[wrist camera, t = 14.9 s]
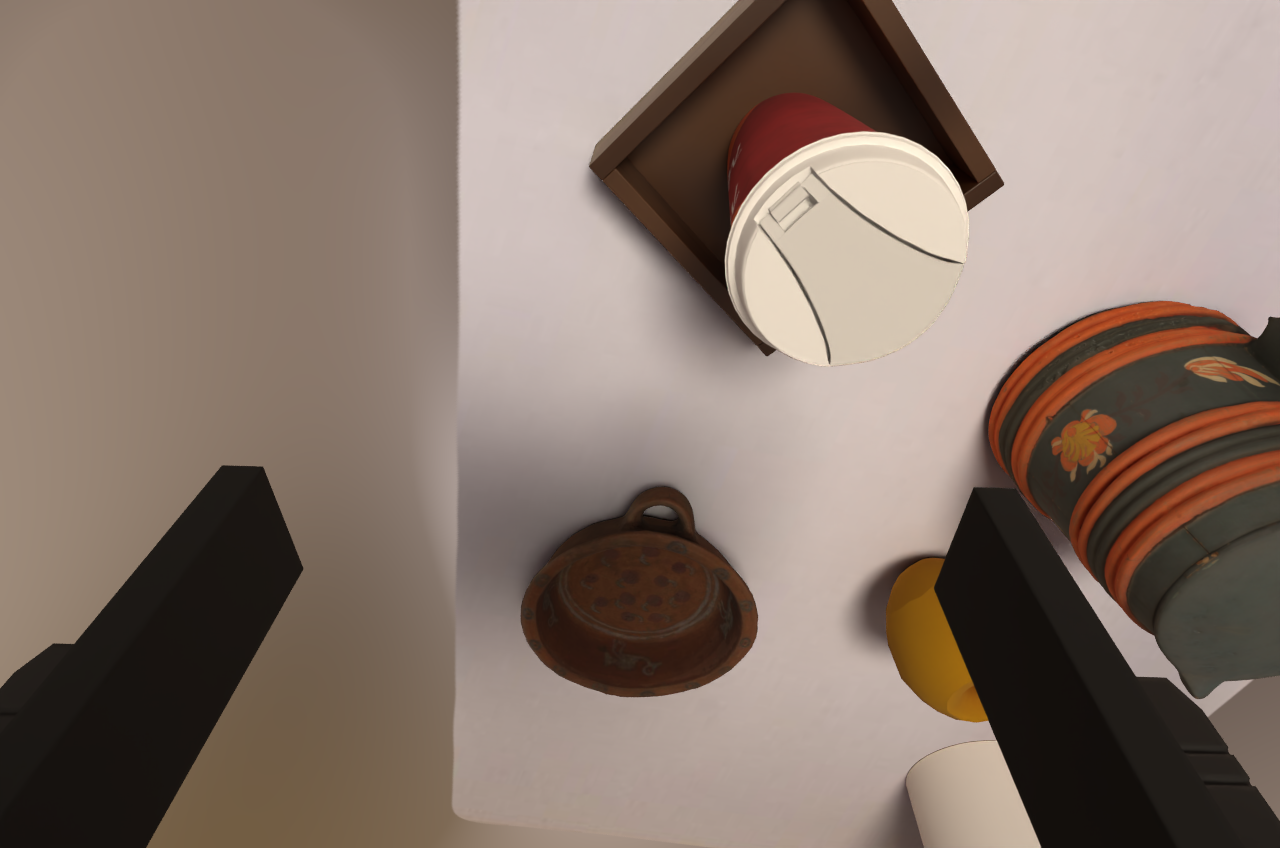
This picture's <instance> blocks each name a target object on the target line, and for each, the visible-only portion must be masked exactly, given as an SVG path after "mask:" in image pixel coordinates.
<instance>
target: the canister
mask: <svg viewBox="0 0 1280 848" xmlns="http://www.w3.org/2000/svg"><path fill="white" fill-rule="evenodd" d="M906 787H907V790H908V794H909V797H910V801H911V804H912V808H913V811H914V815H915V818H916V822H917V825H918V828H919V832H920V835H921V839H922V842H923V846H924V848H1041V846H1040V843H1039V841H1038V839H1037V836H1036V834H1035V831H1034V829H1033V826H1032V824H1031V822H1030V819H1029V817H1028V814H1027V812H1026V810H1025V807H1024V805H1023V802H1022V800H1021V798H1020V795H1019V793H1018V790H1017V788H1016V786H1015V783H1014V781H1013V778H1012V776H1011V774H1010V771H1009V769H1008V766H1007V764H1006V761H1005V759H1004V757H1003V754H1002V752H1001V749H1000V747H999V745H998V742H997V741H976V742H968V743H962V744H958V745H954V746H950V747H947V748H944V749H941V750H939V751H936V752H934V753H932V754H930V755H928V756H926V757H925V758H923V759H921V760H920V761H919V762H918V763H916V764H915V765H914V766H913V767H912V768H911V770H910V771H909V773H908V775H907V777H906Z"/></svg>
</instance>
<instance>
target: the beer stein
mask: <svg viewBox="0 0 1280 848" xmlns="http://www.w3.org/2000/svg"><path fill="white" fill-rule="evenodd" d="M988 434H989V441H990V445H991V448H992V451H993V454H994V456H995V458H996V460H997V462H998V463H999V465H1000V466H1001V467H1002V469H1003V470H1004V471H1005V472H1006V473H1007V474H1008V475H1009V476H1010V477H1011V479H1012V480H1013V481H1014V482H1015V484H1016V485H1017V487H1018V488H1019V490H1020V492H1021V493H1022V494H1023V495H1024V496H1025V497H1026V498H1027V499H1028V500H1029V501H1030V503H1031V504H1032V505H1033V506H1034V507H1035V508H1036V509H1037V510H1038V511H1039V512H1040V513H1041V514H1043V515H1044V516H1046V517H1048V518H1050V519H1052V520H1053V522H1054V523H1055V524H1056V525H1057V526H1058V528H1059V529H1060V530H1061V531H1062V532H1063V533H1064V535H1065V536H1066V537H1067V538H1068V539H1069V540H1070V541H1071V543H1072V546H1073V549H1074V551H1075V553H1076V555H1077V556H1078V558H1079V560H1080V561H1081V563H1082V564H1083V565H1084V567H1085V568H1086V569H1087V570H1088V571H1089V572H1090V574H1091V575H1092V576H1093V578H1094V579H1095V580H1096V581H1098V582H1099V583H1100V584H1101V586H1102V587H1103V588H1104V589H1105V591H1106V592H1107V593H1108V594H1109V595H1110V596H1111V598H1112V599H1113V600H1114V601H1116V602H1117V603H1118V605H1119V606H1120V607H1121V608H1122V609H1123V610H1124V612H1125V613H1126V614H1127V615H1128V617H1129V618H1130V619H1131V620H1132V621H1133V622H1135V623H1136V624H1137V625H1138V626H1139V627H1141V628H1142V629H1143V630H1145V631H1147V632H1148V633H1150V634H1152V635H1154V636H1155V639H1156V642H1157V644H1158V646H1159V648H1160V650H1161V651H1162V652H1163V654H1164V655H1165V656H1166V658H1167V659H1168V660H1169V661H1170V662H1171V663H1172V664H1173V665H1174V666H1175V668H1176V669H1177V670H1178V672H1179V676H1180V679H1181V681H1182V683H1183V684H1184V686H1185V687H1186V689H1187V690H1188V692H1189V693H1190V694H1191V695H1192V696H1193V697H1194V698H1196V699H1202V698H1205V697H1206V696H1208V695H1209V694H1210V693H1211V692H1212V691H1213V690H1214V689H1215V688H1216V687H1217V686H1218V685H1219V684H1221V683H1222V682H1224V681H1238V680H1250V679H1259V678H1266V677H1272V676H1279V675H1280V318H1275V317H1269V318H1268V325H1267V327H1266V328H1265V330H1264V332H1263V333H1262V334H1261V335H1260V336H1259V337H1258V338H1255V337H1252V336H1250V335H1249V334H1248V333H1247V332H1246V331H1245V330H1244V329H1242V328H1241V327H1240V326H1238V325H1237V324H1236V323H1235V322H1234V321H1233V320H1232V319H1230V318H1229V317H1227V316H1226V315H1224V314H1223V313H1220V312H1219V311H1217V310H1210V309H1207V308H1204V307H1194V306H1191V305H1189V304H1184V303H1179V302H1172V301H1155V302H1145V303H1138V304H1134V305H1129V306H1125V307H1121V308H1114V309H1109V310H1105V311H1102V312H1099V313H1096V314H1093V315H1090V316H1089V317H1086V318H1084V319H1082V320H1080V321H1078V322H1076V323H1074V324H1073V325H1071V326H1069V327H1068V328H1066V329H1064V330H1063V331H1061V332H1060V333H1058V334H1057V335H1056V336H1054V337H1053V338H1051V339H1050V340H1048V341H1047V342H1046V343H1044V344H1043V345H1042V346H1040V347H1039V348H1038V349H1037V350H1035V351H1034V352H1033V353H1032V354H1030V355H1029V356H1028V357H1027V358H1026V359H1025V360H1024V361H1023V362H1022V363H1021V364H1020V365H1019V367H1018V368H1017V369H1016V370H1015V371H1014V372H1013V373H1012V375H1011V376H1010V377H1009V379H1008V380H1007V381H1006V383H1005V384H1004V385H1003V387H1002V389H1001V391H1000V393H999V395H998V397H997V399H996V401H995V403H994V405H993V408H992V411H991V415H990V420H989V430H988Z"/></svg>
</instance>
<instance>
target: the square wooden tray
mask: <svg viewBox="0 0 1280 848" xmlns="http://www.w3.org/2000/svg"><path fill="white" fill-rule="evenodd" d="M784 93H804V94H809V95H812V96H815V97H817V98H820V99H822V100H824V101H826V102H828V103H830V104H832V105H833V106H835V107H837V108H838V109H840V110H842V111H844V112H845V113H847V114H849V115H850V116H852V117H854V118H855V119H857V120H859V121H860V122H862V123H863V124H865V125H867V126H868V127H870V128H871V129H873V130H875V131H876V132H883V133H888V134H892V135H896V136H900V137H904V138H906V139H908V140H911V141H913V142H915V143H917V144H920V145H922V146H923V147H924V148H926V149H927V150H929V151H930V152H932V153H933V154H934V155H936V156H937V157H938V158H939V159H940V160H941V161H942V162H943V163H944V164H945V165H946V166H947V167H948V168H949V170H950V171H951V173H952V174H953V176H954V177H955V179H956V181H957V182H958V184H959V185H960V188H961V191H962V193H963V196H964V199H965V202H966V206H967V212H968V211H969V210H970V209H972V208H973V207H975V206H976V205H977V204H979V203H980V202H981V201H983V200H984V199H986V198H987V197H988V196H990V195H991V194H993V193H994V192H995V191H997V190H998V189H999V188H1001V187H1002V186H1004V182H1003V180H1002V179H1001V177H1000V175H999V174H998V172H997V171H996V169H995V167H994V165H993V164H992V162H991V160H990V159H989V157H988V156H987V154H986V152H985V151H984V149H983V147H982V146H981V144H980V143H979V141H978V139H977V138H976V136H975V134H974V133H973V131H972V130H971V128H970V126H969V125H968V123H967V122H966V120H965V118H964V117H963V115H962V113H961V112H960V110H959V109H958V107H957V105H956V104H955V102H954V100H953V99H952V97H951V96H950V94H949V92H948V91H947V89H946V87H945V86H944V84H943V83H942V81H941V79H940V78H939V76H938V74H937V73H936V71H935V70H934V68H933V66H932V65H931V63H930V61H929V60H928V58H927V57H926V55H925V53H924V52H923V50H922V48H921V47H920V45H919V44H918V42H917V40H916V39H915V37H914V35H913V34H912V32H911V31H910V29H909V27H908V26H907V24H906V22H905V21H904V19H903V18H902V16H901V14H900V13H899V11H898V9H897V8H896V6H895V5H894V3H893V1H892V0H738V1H737V3H736V4H735V5H734V6H733V7H732V8H731V9H730V10H729V11H728V12H727V13H726V14H725V15H724V16H723V17H722V18H721V19H720V20H719V21H718V22H717V23H716V24H715V25H714V26H713V27H712V28H711V29H710V30H709V31H708V32H707V33H706V34H705V35H704V36H703V37H702V38H701V39H700V40H699V41H698V42H697V43H696V44H695V45H694V46H693V47H692V48H691V49H690V50H689V51H688V52H687V53H686V54H685V55H684V56H683V57H682V58H681V59H680V60H679V61H678V62H677V63H676V64H675V65H674V66H673V67H672V68H671V69H670V70H669V71H668V72H667V73H666V74H665V75H664V76H663V77H662V78H661V79H660V80H659V81H658V82H657V83H656V84H655V85H654V86H653V87H652V89H651V90H650V91H649V92H648V93H647V94H646V95H645V96H644V97H643V98H642V99H641V100H640V101H639V102H638V103H637V104H636V105H635V106H634V107H633V108H632V109H631V110H630V111H629V112H628V113H627V114H626V115H625V116H624V117H623V118H622V119H621V120H620V121H619V122H618V123H617V124H616V125H615V126H614V127H613V128H612V129H611V130H610V131H609V132H608V133H607V134H606V135H605V136H604V137H603V138H602V139H601V140H600V141H599V142H598V143H597V144H596V146H595V149H594V152H593V155H592V158H591V162H590V165H589V167H590V169H591V170H592V171H593V172H594V173H595V174H596V175H597V176H598V177H599V178H600V179H601V180H603V182H604V183H605V184H606V185H607V186H608V187H609V189H610V190H611V191H612V192H613V193H614V194H615V195H616V196H617V197H618V198H619V199H620V200H621V201H622V202H623V204H624V205H625V206H626V207H627V208H628V209H629V210H630V211H631V212H632V213H633V214H634V215H635V216H636V217H637V218H638V220H639V221H640V222H641V223H642V224H643V225H644V226H645V227H646V228H647V229H648V230H649V231H650V232H651V233H652V235H653V236H654V237H655V238H656V239H657V240H658V241H659V242H660V243H661V244H662V245H663V246H664V247H665V248H666V249H667V251H668V252H669V253H670V254H671V255H672V256H673V257H674V258H675V259H676V260H677V261H678V262H679V263H680V264H681V266H682V267H683V268H684V269H685V270H686V271H687V272H688V273H689V274H690V275H691V276H692V277H693V278H694V279H695V280H696V282H697V283H698V284H699V285H700V286H701V287H702V288H703V289H704V290H705V291H706V292H707V293H708V294H709V295H710V297H711V298H712V299H713V300H714V301H715V302H716V303H717V304H718V305H719V306H720V307H721V308H722V309H723V310H724V311H725V313H726V314H727V315H728V316H729V317H730V318H731V319H732V320H733V321H734V322H735V323H736V324H737V325H738V326H739V327H740V329H741V330H742V331H743V332H744V333H745V334H746V335H747V336H748V337H749V338H750V339H751V340H752V341H753V342H754V344H755V345H757V346H758V348H759V349H760V350H761V351H762V352H763V353H764V354H765V355H766V356H769V355H770V354H772V353H773V352H774V351H776V349H774V348H772V347H771V346H769V345H767V344H766V343H764V342H763V341H762V340H760V339H759V338H758V337H757V336H755V335H754V334H753V333H752V332H751V331H750V329H749V328H748V327H747V326H746V325H745V324H744V323H743V321H742V320H741V318H740V316H739V315H738V313H737V311H736V310H735V308H734V305H733V303H732V300H731V298H730V295H729V292H728V287H727V282H726V278H725V253H726V246H727V240H728V237H729V233H730V230H731V221H730V207H729V193H728V175H727V161H728V152H729V146H730V143H731V139H732V137H733V134H734V132H735V130H736V128H737V127H738V125H739V123H740V122H741V120H742V119H743V118H744V117H745V115H746V114H747V113H748V112H749V111H750V110H751V109H753V108H754V107H755V106H756V105H758V104H759V103H761V102H762V101H764V100H766V99H768V98H770V97H773V96H776V95H779V94H784Z"/></svg>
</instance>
